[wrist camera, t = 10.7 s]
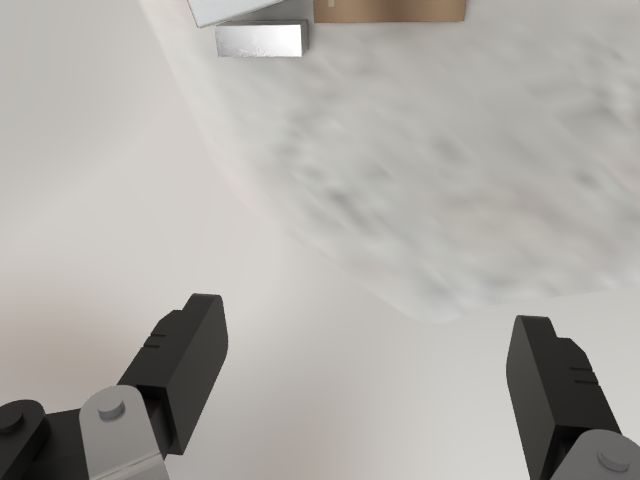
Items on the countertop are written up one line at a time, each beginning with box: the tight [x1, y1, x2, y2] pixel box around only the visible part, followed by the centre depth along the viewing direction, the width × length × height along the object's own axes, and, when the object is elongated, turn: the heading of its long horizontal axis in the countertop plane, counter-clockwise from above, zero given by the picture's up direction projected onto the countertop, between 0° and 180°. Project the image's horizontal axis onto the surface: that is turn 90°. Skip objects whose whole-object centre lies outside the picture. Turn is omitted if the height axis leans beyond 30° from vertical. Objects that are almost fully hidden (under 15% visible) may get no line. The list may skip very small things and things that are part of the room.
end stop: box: [215, 20, 309, 57], centre depth 36 cm, size 6×2×3 cm, turn 92°
